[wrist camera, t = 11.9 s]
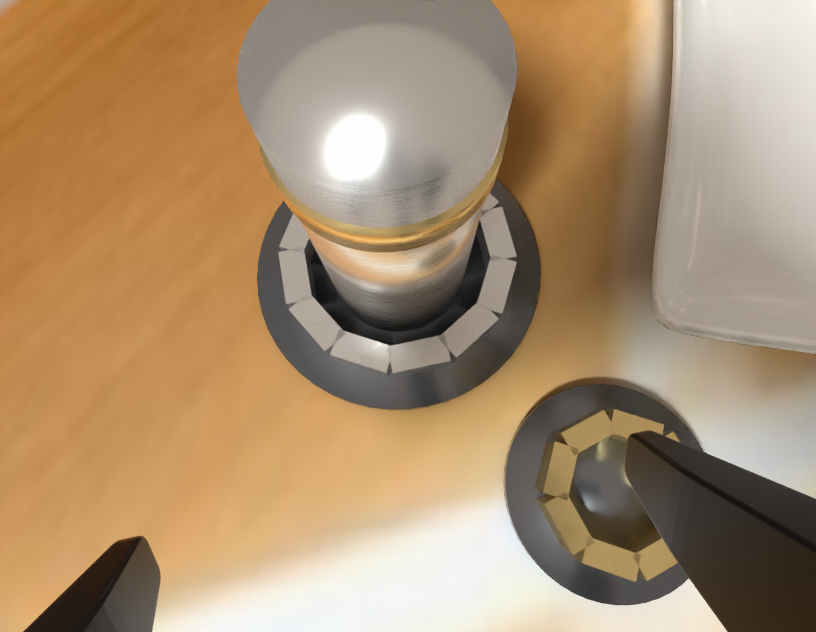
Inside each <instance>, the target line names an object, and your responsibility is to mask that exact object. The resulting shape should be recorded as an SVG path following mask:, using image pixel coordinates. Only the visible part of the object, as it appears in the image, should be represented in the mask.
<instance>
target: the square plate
mask: <svg viewBox="0 0 816 632" xmlns="http://www.w3.org/2000/svg"><path fill="white" fill-rule="evenodd" d="M673 2H674V15H673V71H672V87H671V102H670V113H669V124H668V136H667V145H666V155H665V164H664V173H663V182H662V190H661V199H660V207H659V215H658V224H657V232H656V241H655V250H654V261H653V274H652V300H653V311H654V314H655V317H656V318H657V320H658V322H659V323H660V324H662V325H663V326H665V327H666V328H668V329H670V330H673V331H677V332H681V333H685V334H688V335H692V336H698V337H704V338H709V339H715V340H721V341H727V342H733V343H739V344H745V345H752V346H760V347H768V348H776V349H783V350H791V351H798V352H805V353H812V354H816V0H673Z"/></svg>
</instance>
